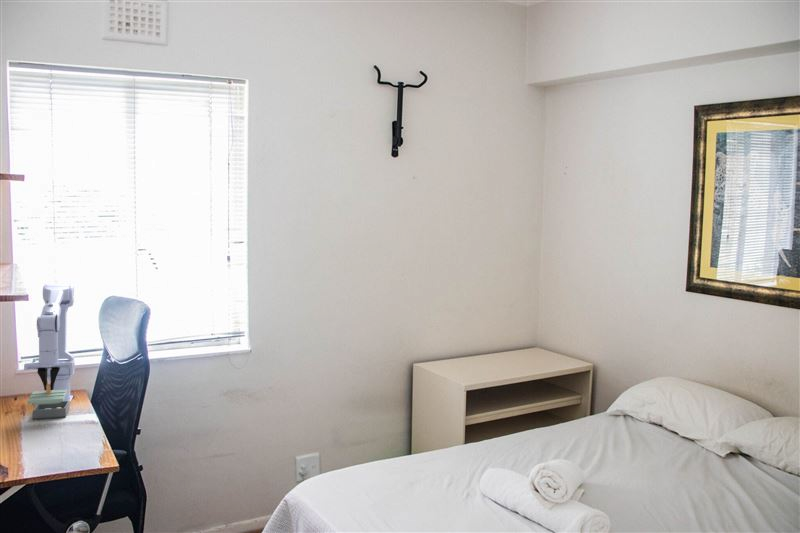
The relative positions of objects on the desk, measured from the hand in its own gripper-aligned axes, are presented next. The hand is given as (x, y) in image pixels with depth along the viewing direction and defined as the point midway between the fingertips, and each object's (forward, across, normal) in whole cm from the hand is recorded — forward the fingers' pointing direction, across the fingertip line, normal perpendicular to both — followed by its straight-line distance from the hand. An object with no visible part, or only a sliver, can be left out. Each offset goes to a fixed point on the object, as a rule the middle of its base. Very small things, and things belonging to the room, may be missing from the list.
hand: (49, 389), depth 224 cm
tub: (+10, 0, +5) cm, 11 cm away
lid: (+3, 0, -2) cm, 4 cm away
